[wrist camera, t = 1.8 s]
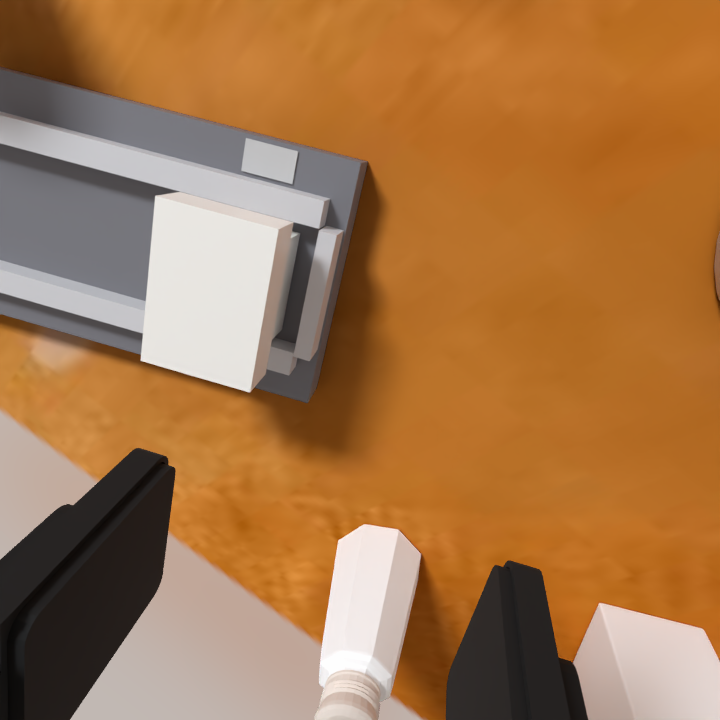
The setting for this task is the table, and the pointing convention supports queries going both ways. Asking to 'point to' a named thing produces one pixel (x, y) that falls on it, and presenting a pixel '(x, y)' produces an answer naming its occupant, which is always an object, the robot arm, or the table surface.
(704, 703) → the milk
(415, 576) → the salt shaker
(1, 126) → the fader panel
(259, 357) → the fader knob
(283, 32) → the table surface
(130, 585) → the robot arm
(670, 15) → the table surface
